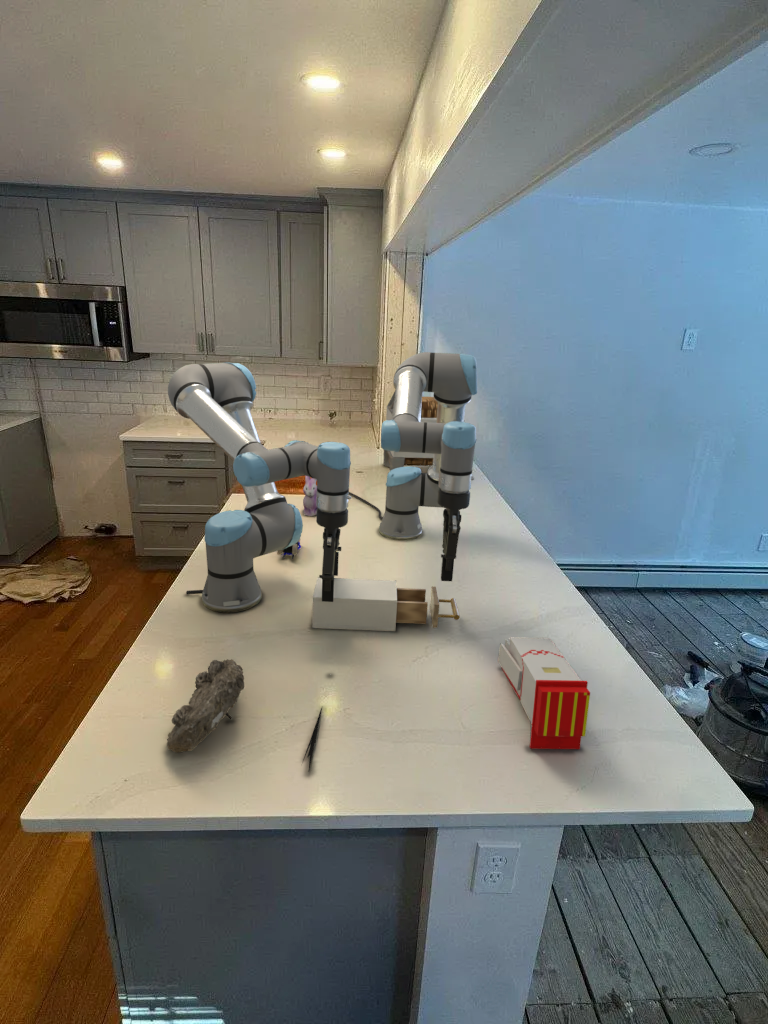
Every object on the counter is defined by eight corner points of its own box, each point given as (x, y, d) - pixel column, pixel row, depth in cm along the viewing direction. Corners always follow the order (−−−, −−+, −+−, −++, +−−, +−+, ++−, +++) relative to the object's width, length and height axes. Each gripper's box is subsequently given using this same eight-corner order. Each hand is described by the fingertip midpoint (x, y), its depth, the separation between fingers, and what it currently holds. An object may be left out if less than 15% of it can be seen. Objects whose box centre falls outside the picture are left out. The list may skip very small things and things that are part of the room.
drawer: (454, 609, 149) (456, 587, 147) (458, 628, 140) (461, 605, 138) (361, 605, 149) (362, 583, 147) (360, 624, 140) (361, 601, 137)
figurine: (306, 518, 210) (306, 479, 205) (297, 509, 219) (297, 471, 214) (330, 515, 214) (330, 476, 209) (320, 506, 223) (320, 469, 218)
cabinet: (394, 609, 150) (396, 580, 147) (395, 631, 140) (397, 600, 137) (317, 606, 150) (317, 577, 147) (312, 628, 139) (312, 597, 136)
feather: (331, 679, 122) (336, 673, 122) (307, 777, 96) (313, 769, 95) (324, 675, 122) (329, 669, 121) (298, 772, 95) (304, 764, 95)
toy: (546, 620, 128) (599, 688, 99) (541, 675, 131) (591, 756, 102) (493, 619, 128) (531, 687, 99) (489, 674, 131) (524, 755, 101)
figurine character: (298, 566, 175) (304, 542, 188) (297, 544, 171) (303, 521, 185) (276, 565, 174) (283, 541, 188) (275, 544, 171) (282, 521, 184)
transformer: (382, 463, 289) (386, 382, 275) (445, 464, 293) (451, 384, 279) (390, 482, 257) (394, 392, 243) (460, 483, 261) (468, 394, 247)
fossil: (192, 660, 117) (244, 628, 112) (224, 691, 120) (276, 661, 115) (142, 746, 98) (202, 712, 93) (182, 779, 101) (242, 748, 96)
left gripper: (344, 528, 123) (341, 614, 130) (351, 492, 146) (348, 566, 154) (310, 527, 123) (308, 612, 130) (322, 490, 146) (320, 564, 154)
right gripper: (474, 498, 127) (464, 592, 135) (466, 481, 139) (458, 569, 147) (441, 497, 127) (433, 591, 135) (436, 480, 139) (429, 567, 147)
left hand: (330, 587), depth 142 cm, fingers open, 13 cm apart
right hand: (446, 579), depth 141 cm, fingers closed
